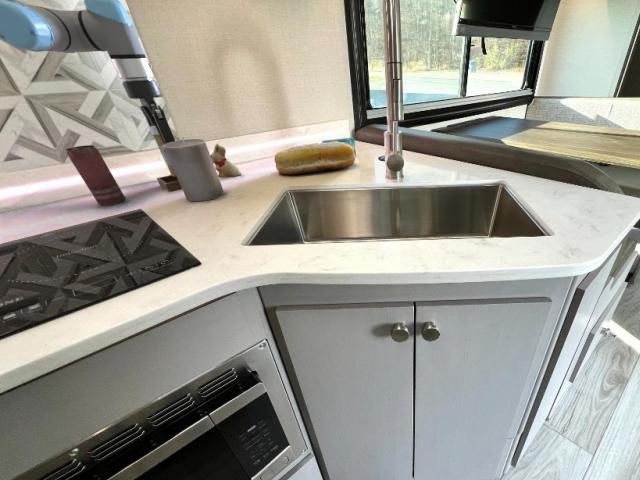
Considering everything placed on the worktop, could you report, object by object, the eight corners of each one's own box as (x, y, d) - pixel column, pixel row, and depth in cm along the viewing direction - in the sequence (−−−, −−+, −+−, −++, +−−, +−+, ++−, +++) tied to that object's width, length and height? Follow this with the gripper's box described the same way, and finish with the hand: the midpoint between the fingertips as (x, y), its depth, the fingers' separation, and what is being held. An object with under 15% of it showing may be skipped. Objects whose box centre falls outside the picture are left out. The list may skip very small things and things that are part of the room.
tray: (169, 192, 92) (165, 184, 91) (160, 185, 98) (156, 178, 96) (208, 182, 99) (205, 175, 97) (197, 177, 104) (194, 169, 102)
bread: (360, 169, 106) (357, 143, 101) (279, 180, 99) (272, 152, 94) (350, 160, 116) (347, 136, 111) (276, 169, 109) (269, 144, 104)
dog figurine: (230, 171, 108) (219, 139, 102) (243, 174, 105) (233, 141, 99) (215, 175, 105) (202, 142, 99) (228, 179, 101) (216, 145, 95)
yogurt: (325, 159, 118) (322, 141, 114) (324, 158, 119) (321, 140, 115) (356, 155, 121) (354, 137, 117) (355, 154, 122) (353, 137, 118)
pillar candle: (217, 187, 94) (196, 132, 85) (229, 195, 88) (207, 136, 79) (182, 196, 89) (155, 137, 80) (191, 204, 83) (164, 143, 74)
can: (103, 200, 88) (70, 146, 80) (129, 197, 90) (99, 143, 81) (94, 207, 84) (57, 151, 75) (121, 204, 85) (88, 148, 77)
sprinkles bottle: (174, 174, 98) (151, 125, 90) (190, 172, 99) (169, 123, 90) (169, 178, 94) (145, 127, 86) (185, 176, 95) (163, 126, 87)
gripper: (163, 79, 79) (202, 175, 93) (146, 78, 89) (183, 165, 103) (128, 81, 75) (174, 181, 89) (114, 80, 85) (158, 170, 99)
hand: (179, 172), depth 96 cm, fingers closed on sprinkles bottle, 4 cm apart
